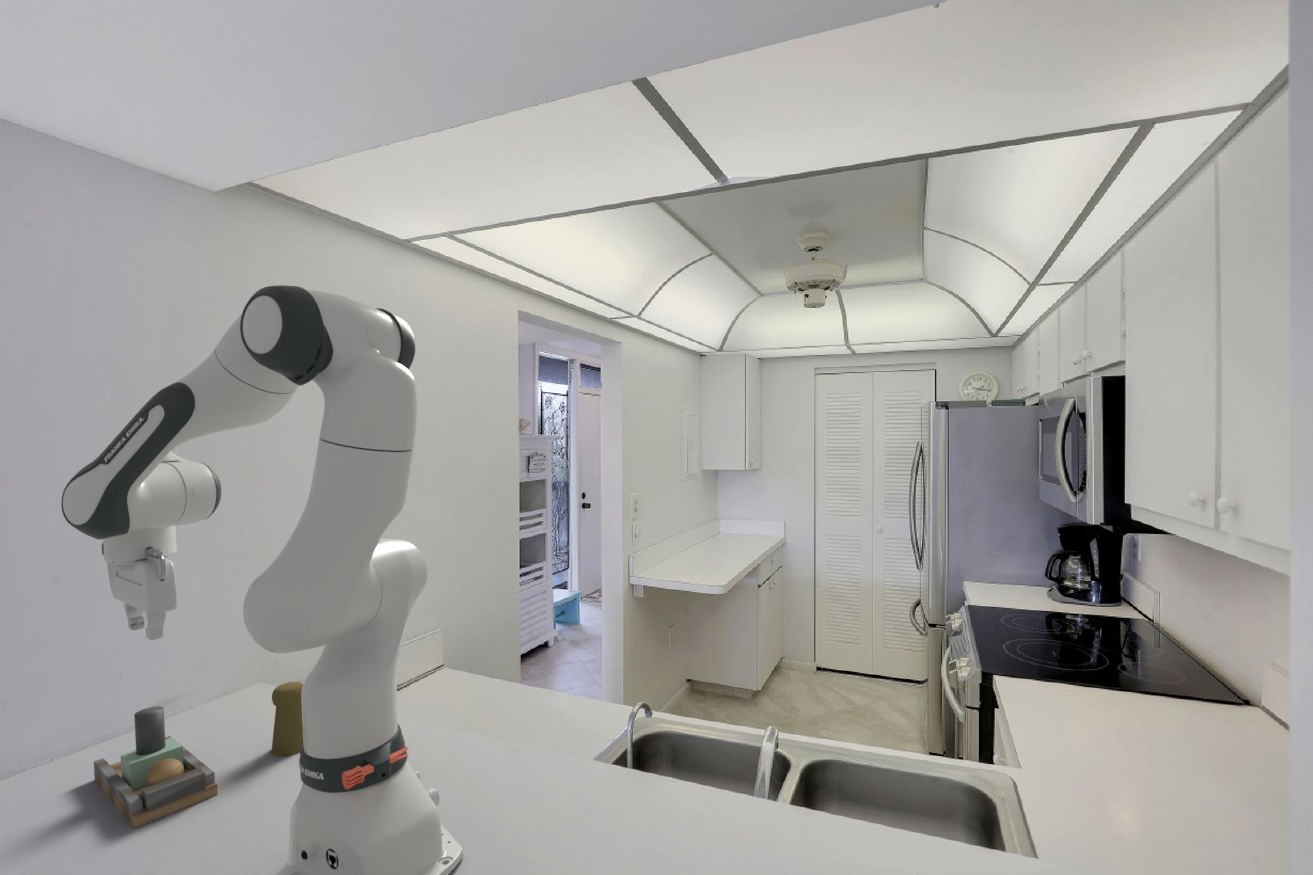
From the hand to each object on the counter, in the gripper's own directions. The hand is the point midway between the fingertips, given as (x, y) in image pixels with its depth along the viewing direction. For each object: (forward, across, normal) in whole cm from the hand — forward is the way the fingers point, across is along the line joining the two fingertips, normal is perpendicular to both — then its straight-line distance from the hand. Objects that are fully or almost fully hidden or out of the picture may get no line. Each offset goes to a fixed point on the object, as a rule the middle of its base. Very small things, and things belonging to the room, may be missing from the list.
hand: (145, 633), depth 99 cm
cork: (+24, -6, -18) cm, 31 cm away
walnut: (+20, -7, 0) cm, 21 cm away
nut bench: (+24, -1, 0) cm, 24 cm away
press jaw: (+22, -1, 0) cm, 22 cm away
